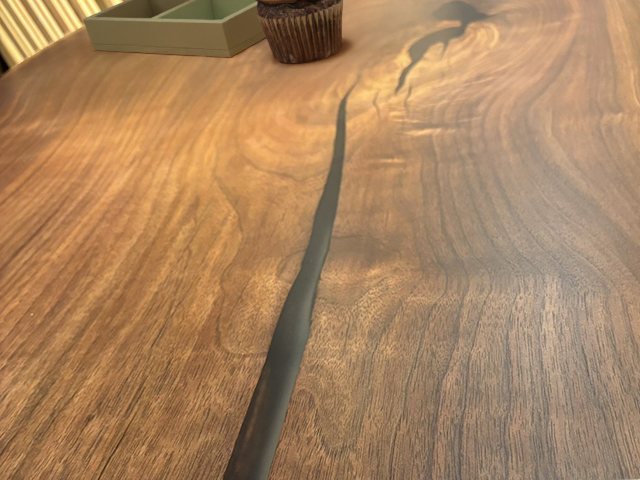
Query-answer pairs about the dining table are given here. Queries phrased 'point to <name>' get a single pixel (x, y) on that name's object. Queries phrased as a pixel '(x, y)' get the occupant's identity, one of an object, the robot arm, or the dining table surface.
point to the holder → (176, 27)
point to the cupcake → (301, 28)
